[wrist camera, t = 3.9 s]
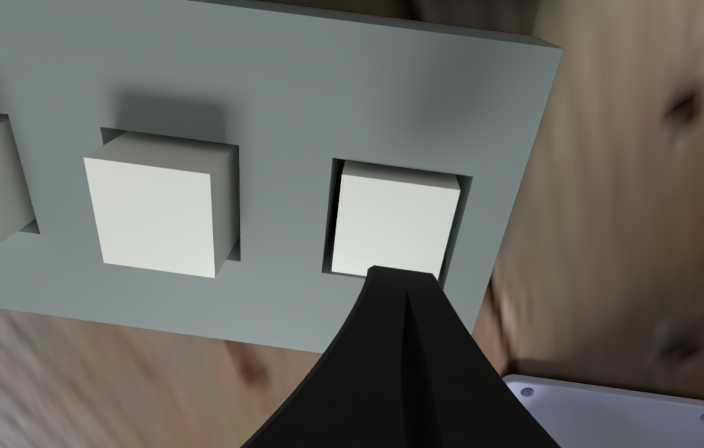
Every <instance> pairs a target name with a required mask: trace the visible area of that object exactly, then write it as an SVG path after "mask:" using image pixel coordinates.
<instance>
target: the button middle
mask: <svg viewBox="0 0 704 448" xmlns="http://www.w3.org/2000/svg"><path fill="white" fill-rule="evenodd" d="M83 158H84V163H85V168H86V174H87V179H88V184H89V189H90V194H91V199H92V204H93V210H94V215H95V220H96V225H97V230H98V235H99V240H100V245H101V251H102V256H103V261H104V263H108V264H115V265H123V266H130V267H137V268H145V269H152V270H159V271H166V272H174V273H181V274H188V275H195V276H203V277H210V278H215V277H216V276H217V274H218V272H219V271H220V269H221V267H222V265H223V264H224V262H225V260H226V259H227V257H228V255H229V253H230V252H231V250H232V248H233V247H234V245H235V243H236V241H237V240H238V238H239V236H240V170H239V145H233V144H226V143H218V142H211V141H203V140H196V139H188V138H181V137H173V136H166V135H158V134H151V133H143V132H136V131H127V132H125V133H124V134H122V135H120V136H119V137H117V138H115V139H114V140H112V141H110V142H108V143H107V144H105V145H103V146H102V147H100V148H98V149H96V150H95V151H93V152H91V153H90V154H88V155H86V156H85V157H83Z"/></svg>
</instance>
